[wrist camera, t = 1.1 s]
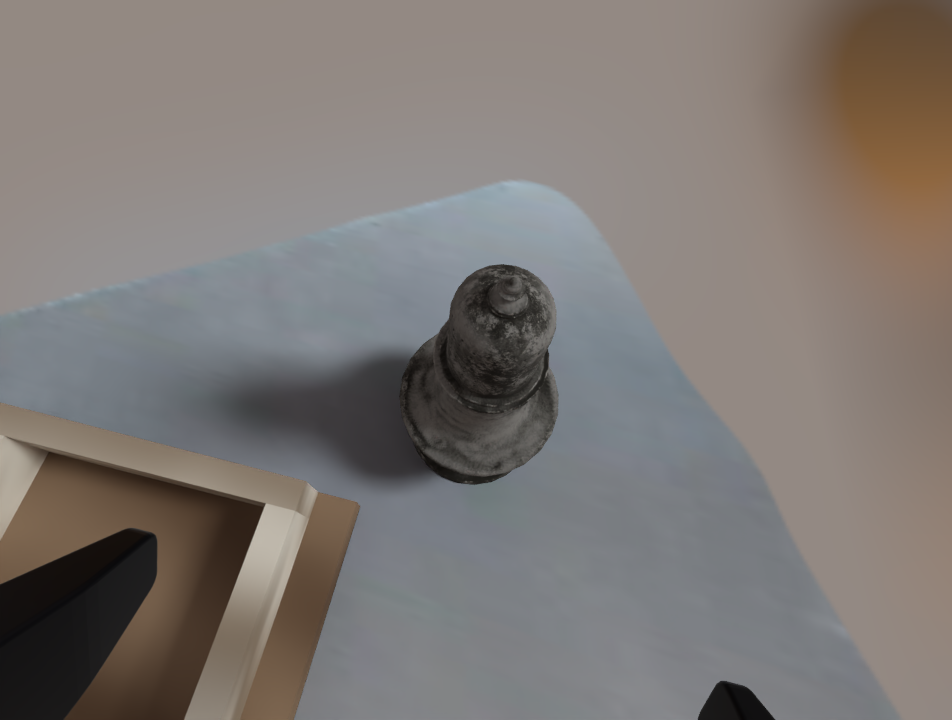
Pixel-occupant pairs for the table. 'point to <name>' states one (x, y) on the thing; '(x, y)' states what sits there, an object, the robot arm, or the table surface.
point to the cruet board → (180, 565)
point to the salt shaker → (485, 379)
